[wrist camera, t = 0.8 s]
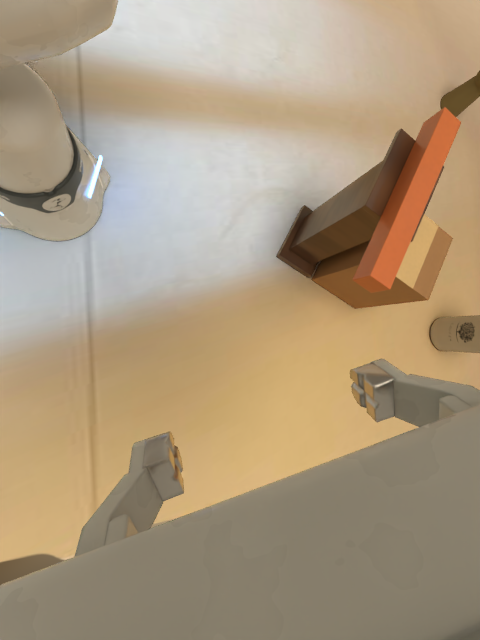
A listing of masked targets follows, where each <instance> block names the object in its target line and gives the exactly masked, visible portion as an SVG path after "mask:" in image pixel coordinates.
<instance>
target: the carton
mask: <svg viewBox="0 0 480 640" xmlns="http://www.w3.org/2000/svg"><path fill="white" fill-rule="evenodd" d="M452 239H453V238H452V237H451V236H450V235H448V234H447V233H446V232H445V231H444V230H442V229H441V228H440V227H439V226H438V225H437V224H436V223H434V222H433V221H432V220H431V219H429V218H428V217H427V216H426V215H425V214H424V216H423V218H422V220H421V223H420V225H419V227H418V230H417V232H416V235H415V237H414V239H413V241H412V242H410V244H409V246H408V249H407V251H406V254H405V256H404V258H403V261H402V263H401V265H400V268H399V270H398V272H397V275H396V277H395V279H394V282H393V284H392V286H391V289H390V290H385V291H379V292H374V293H370V292H369V291H368V290H366V289H365V288H363V287H362V286H360V285H359V284H357V283H356V282H354V281H353V277H354V275H355V273H356V271H357V269H358V266H359V264H360V262H361V260H362V258H363V255H364V253H365V251H366V249H367V247H368V244H369V242H370V240H369V241H367V242H364V243H362V244H359V245H357V246H355V247H352V248H350V249H347V250H345V251H342V252H340V253H338V254H335V255H333V256H330V257H328V258H325V259H323V260H321V262H320V264H319V266H318V268H317V270H316V272H315V274H314V276H313V278H312V281H314V282H315V283H317V284H319V285H320V286H322V287H323V288H325V289H326V290H328V291H329V292H331V293H332V294H334V295H335V296H337V297H338V298H340V299H341V300H343V301H344V302H346V303H347V304H349V305H351V306H352V307H354V308H355V309H356V308H364V307H373V306H381V305H390V304H398V303H407V302H415V301H424V300H429V297H430V295H431V292H432V290H433V287H434V285H435V282H436V280H437V277H438V275H439V272H440V270H441V267H442V265H443V262H444V260H445V257H446V255H447V252H448V249H449V247H450V244H451V242H452Z"/></svg>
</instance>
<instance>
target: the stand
mask: <svg viewBox="0 0 480 640" xmlns="http://www.w3.org/2000/svg"><path fill="white" fill-rule="evenodd" d="M414 143H415V140H414V139H413V138H412V137H410V136H409V135H408V134H407V133H406V132H405V131H404V130H403V129H400V130H399V131H398V132H397V133H396V135H395V137H394V139H393V141H392V143H391V145H390V147H389V150H388V152H387V154H386V156H385V158H384V160H383V161H382V162H380V163H379V164H378V165H376V166H375V167H373V168H372V169H371V170H369V171H368V172H367V173H365V174H364V175H362V176H361V177H360V178H358V179H357V180H355V181H354V182H353V183H351V184H350V185H348V186H347V187H346V188H344V189H343V190H342V191H340V192H339V193H337V194H336V195H335V196H333V197H332V198H330V199H329V200H328V201H326V202H325V203H324V204H322V205H321V206H319V207H318V208H317V209H315V210H314V211H312V210H310V209H309V208H308V207H306V206H305V205H304V206H303V207H302V208H301V209H300V211H299V213H298V215H297V217H296V219H295V221H294V223H293V225H292V227H291V229H290V231H289V233H288V235H287V236H286V238H285V240H284V242H283V244H282V246H281V248H280V250H279V252H278V254H277V256H276V257H277V258H279V259H281V260H282V261H284V262H285V263H287V264H288V265H290V266H291V267H293V268H294V269H296V270H297V271H299V272H300V273H302V274H303V275H305V276H306V277H310V276H312V274H313V272H314V270H315V267H316V265H317V263H318V261H321V260H323V259H325V258H328V257H330V256H333V255H335V254H338V253H340V252H342V251H345V250H347V249H350V248H352V247H355V246H357V245H359V244H362V243H364V242H367V241H369V240H371V238H372V236H373V233H374V231H375V229H376V227H377V225H378V222H379V220H380V218H381V216H382V214H383V211H384V209H385V207H386V205H387V203H388V200H389V198H390V196H391V194H392V192H393V189H394V187H395V185H396V183H397V181H398V178H399V176H400V174H401V172H402V170H403V167H404V165H405V163H406V161H407V159H408V156H409V154H410V152H411V150H412V148H413V145H414ZM443 169H444V166H443V167H442V169H441V171H440V174H439V176H438V178H437V181H436V183H435V185H434V188H433V190H432V192H431V195H430V197H429V199H428V202H427V204H426V207H425V209H424V211H423V214H422V216H421V218H420V221H419V223H418V225H417V228H416V230H415V232H414V235H413V237H412V239H411V242H412V241H413V239H414V237H415V235H416V232H417V230H418V227H419V225H420V223H421V220H422V218H423V216H424V213H425V211H426V209H427V206H428V204H429V202H430V199H431V197H432V194H433V192H434V190H435V187H436V185H437V183H438V180H439V178H440V176H441V173H442V171H443Z"/></svg>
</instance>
